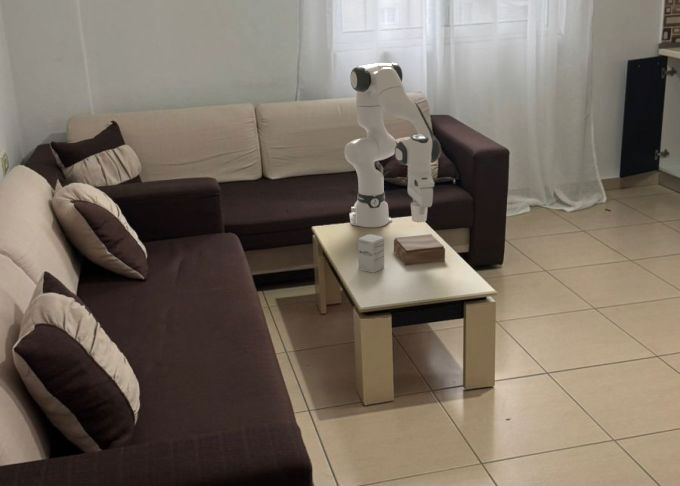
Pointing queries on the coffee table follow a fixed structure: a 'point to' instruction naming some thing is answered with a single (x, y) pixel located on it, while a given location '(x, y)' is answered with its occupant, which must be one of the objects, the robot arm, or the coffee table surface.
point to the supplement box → (371, 253)
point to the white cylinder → (417, 212)
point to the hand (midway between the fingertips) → (419, 211)
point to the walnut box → (419, 249)
